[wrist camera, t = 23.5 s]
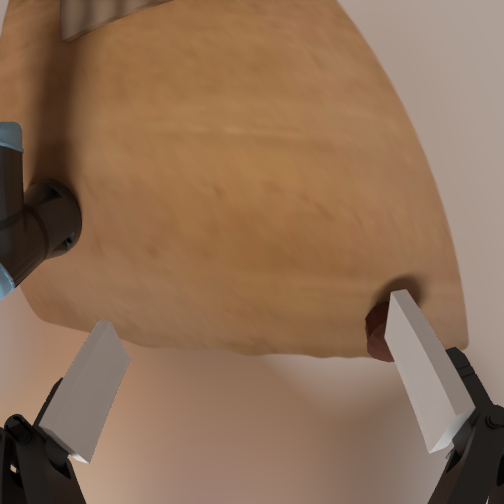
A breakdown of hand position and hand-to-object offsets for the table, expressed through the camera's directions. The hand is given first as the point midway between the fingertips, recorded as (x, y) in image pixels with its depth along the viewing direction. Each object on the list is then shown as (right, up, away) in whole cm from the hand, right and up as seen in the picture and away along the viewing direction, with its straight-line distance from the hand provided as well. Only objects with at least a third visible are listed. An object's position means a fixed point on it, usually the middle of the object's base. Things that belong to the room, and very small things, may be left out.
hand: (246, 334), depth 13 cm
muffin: (+28, -10, +43) cm, 52 cm away
